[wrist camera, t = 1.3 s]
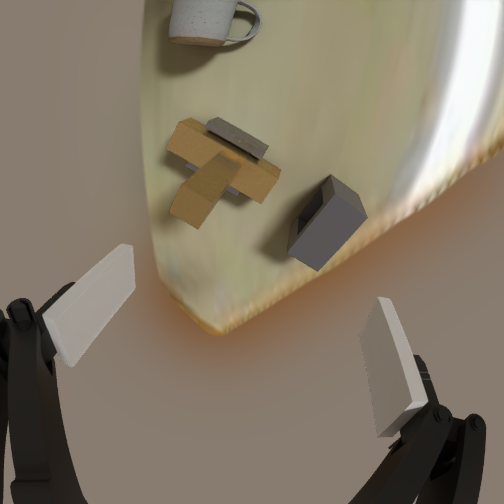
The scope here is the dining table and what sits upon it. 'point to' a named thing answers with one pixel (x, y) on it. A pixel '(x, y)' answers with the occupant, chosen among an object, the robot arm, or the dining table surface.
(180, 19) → the ceramic mug
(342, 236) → the slotted grey block
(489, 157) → the dining table surface
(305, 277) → the dining table surface
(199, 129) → the t-shaped wooden piece
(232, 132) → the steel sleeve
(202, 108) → the dining table surface
